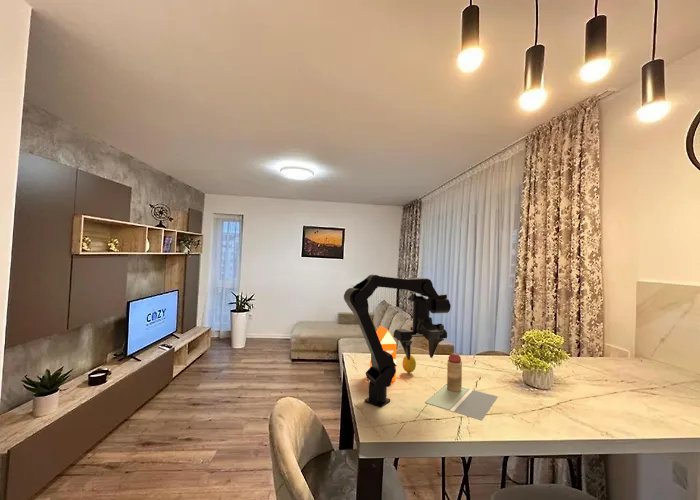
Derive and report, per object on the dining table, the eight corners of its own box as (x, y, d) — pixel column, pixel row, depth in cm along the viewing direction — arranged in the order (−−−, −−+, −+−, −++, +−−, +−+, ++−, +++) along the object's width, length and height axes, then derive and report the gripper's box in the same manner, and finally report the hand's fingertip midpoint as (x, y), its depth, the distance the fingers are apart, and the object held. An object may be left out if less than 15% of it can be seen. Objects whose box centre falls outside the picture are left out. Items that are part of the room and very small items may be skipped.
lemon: (415, 376, 130) (416, 356, 131) (402, 375, 132) (402, 355, 132) (415, 372, 136) (416, 353, 136) (402, 370, 137) (403, 351, 137)
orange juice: (377, 382, 122) (379, 330, 123) (369, 374, 131) (370, 325, 131) (396, 381, 124) (397, 329, 125) (386, 373, 133) (388, 325, 134)
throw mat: (481, 422, 94) (481, 420, 94) (424, 404, 104) (424, 402, 104) (497, 398, 111) (497, 396, 111) (447, 385, 122) (447, 383, 122)
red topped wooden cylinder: (461, 392, 113) (462, 355, 114) (446, 390, 115) (447, 354, 116) (461, 387, 118) (461, 352, 119) (447, 385, 120) (447, 350, 120)
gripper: (410, 318, 101) (409, 368, 100) (458, 316, 108) (457, 363, 107) (393, 313, 111) (392, 358, 111) (437, 311, 118) (436, 354, 117)
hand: (420, 358), depth 111 cm, fingers open, 9 cm apart
